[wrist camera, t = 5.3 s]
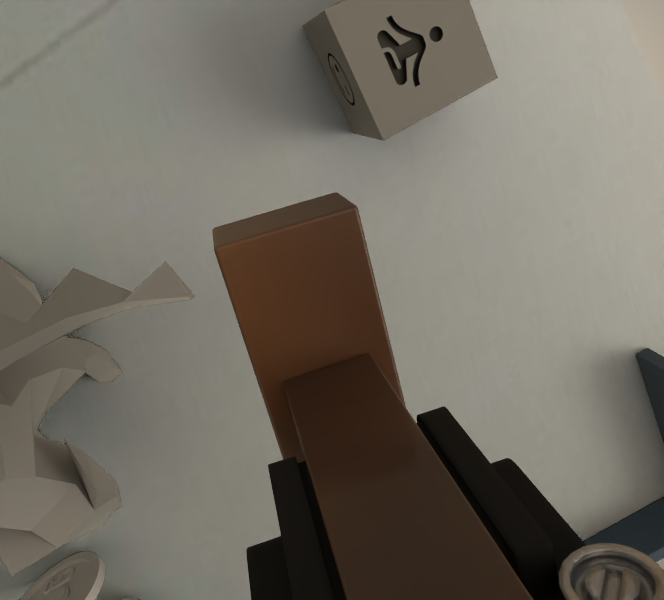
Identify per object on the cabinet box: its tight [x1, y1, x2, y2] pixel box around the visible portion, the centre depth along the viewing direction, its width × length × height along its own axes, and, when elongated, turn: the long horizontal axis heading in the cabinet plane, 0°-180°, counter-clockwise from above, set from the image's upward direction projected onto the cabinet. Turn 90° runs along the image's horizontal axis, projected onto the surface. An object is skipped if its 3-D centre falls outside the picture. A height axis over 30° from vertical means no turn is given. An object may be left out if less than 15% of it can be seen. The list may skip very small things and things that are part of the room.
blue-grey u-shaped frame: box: [584, 348, 664, 562], centre depth 37 cm, size 19×16×3 cm
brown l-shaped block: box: [213, 193, 533, 600], centre depth 12 cm, size 3×10×11 cm, turn 13°
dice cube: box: [303, 0, 498, 140], centre depth 26 cm, size 5×5×5 cm
